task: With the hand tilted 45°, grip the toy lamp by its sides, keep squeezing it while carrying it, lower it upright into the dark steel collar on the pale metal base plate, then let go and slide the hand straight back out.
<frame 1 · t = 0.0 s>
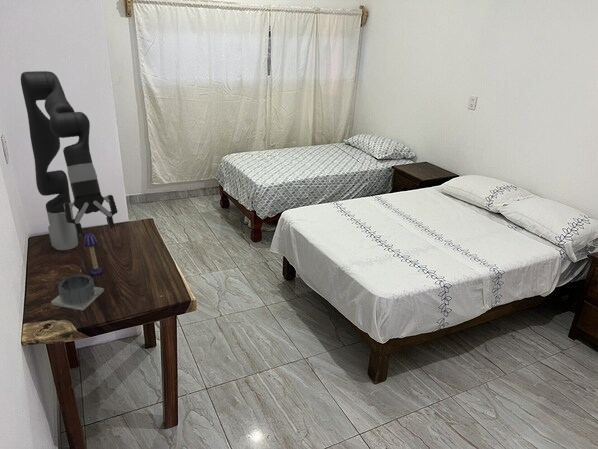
hand: (96, 232, 132), 31 cm above the table, tool tilted 20°, fingers open, 8 cm apart
collar stand: (78, 297, 153), on the table
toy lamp: (96, 272, 168), on the table
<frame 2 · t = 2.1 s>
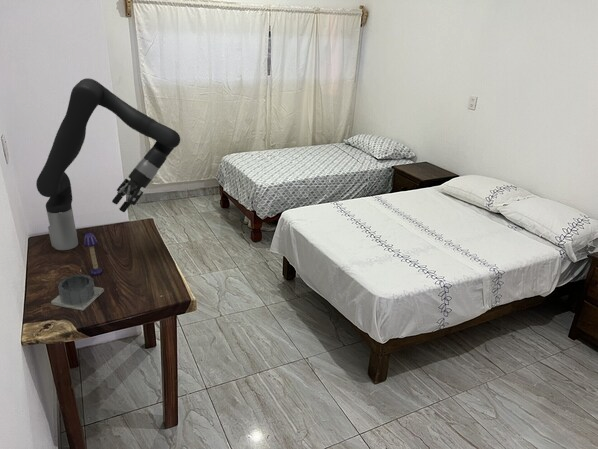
hand: (117, 207, 163), 25 cm above the table, tool tilted 45°, fingers open, 8 cm apart
nothing on the table moved.
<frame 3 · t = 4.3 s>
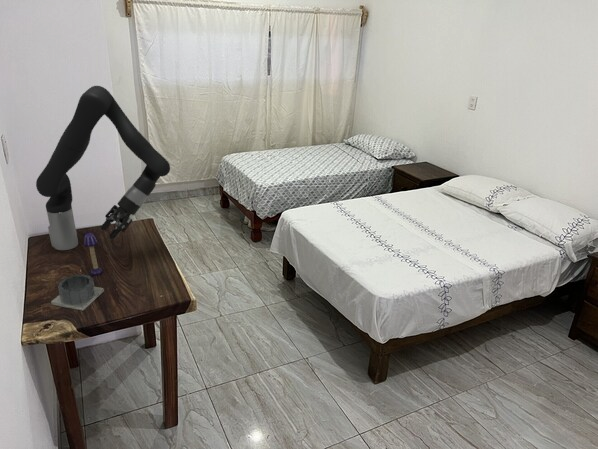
hand: (106, 233, 164), 15 cm above the table, tool tilted 45°, fingers open, 8 cm apart
nothing on the table moved.
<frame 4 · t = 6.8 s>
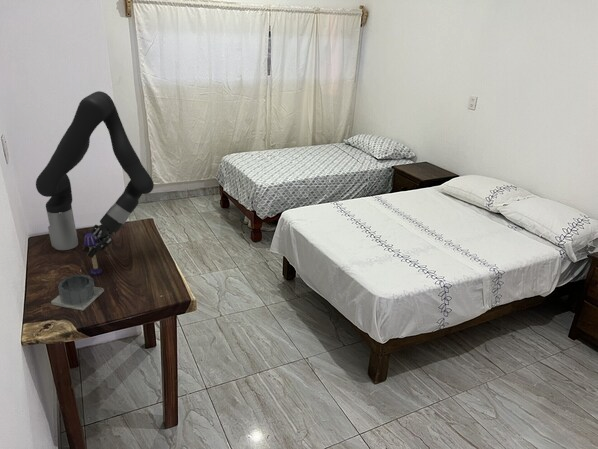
hand: (87, 253, 162), 9 cm above the table, tool tilted 45°, fingers closed on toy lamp, 4 cm apart
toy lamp: (96, 272, 168), on the table, touching gripper
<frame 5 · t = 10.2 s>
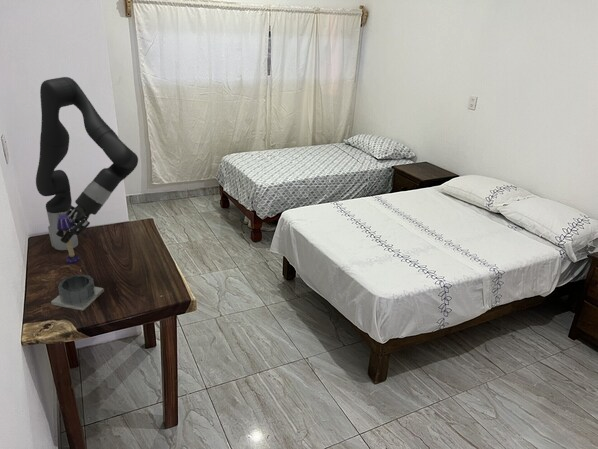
hand: (61, 238, 141), 24 cm above the table, tool tilted 45°, fingers closed on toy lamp, 4 cm apart
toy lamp: (72, 261, 146), point 15 cm above the table, touching gripper
when the fingers open (11 cm above the table, at t = 14.2 s): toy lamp moves 1 cm, resting on collar stand.
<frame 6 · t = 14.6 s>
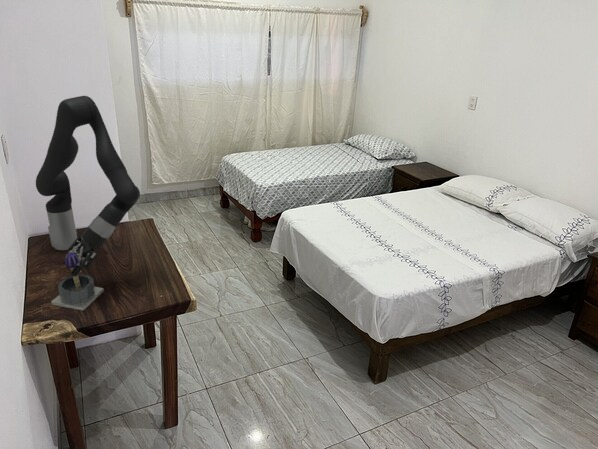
hand: (68, 269, 147), 12 cm above the table, tool tilted 45°, fingers open, 8 cm apart
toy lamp: (79, 295, 152), point 1 cm above the table, touching collar stand
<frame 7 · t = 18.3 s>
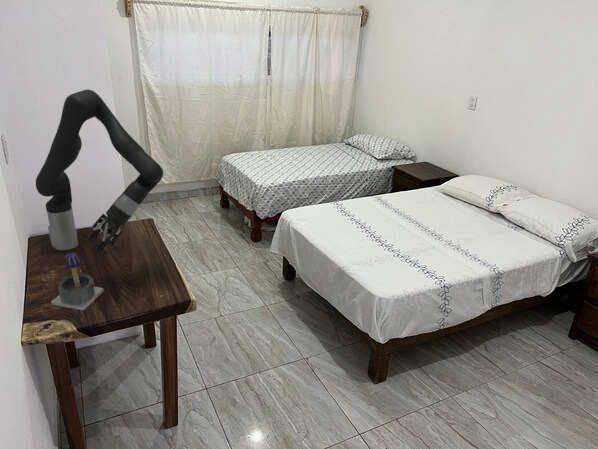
hand: (93, 246, 149), 19 cm above the table, tool tilted 45°, fingers open, 8 cm apart
nothing on the table moved.
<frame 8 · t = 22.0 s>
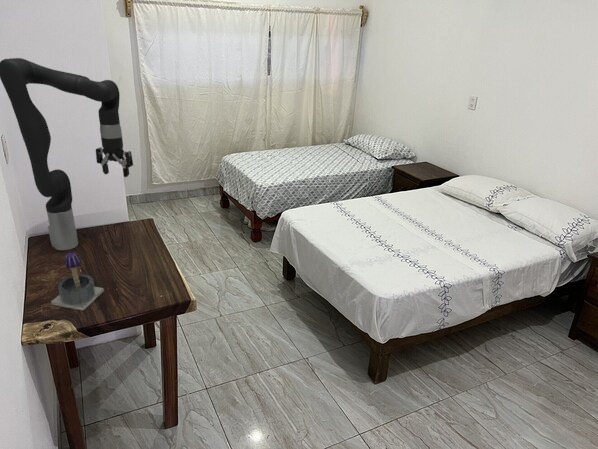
hand: (116, 175, 172), 33 cm above the table, tool pointing down, fingers open, 8 cm apart
nothing on the table moved.
at the end: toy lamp 0.4 cm off-centre on the collar stand, point 1.0 cm above the collar stand's base; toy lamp tilted 0°; the gripper is holding nothing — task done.
